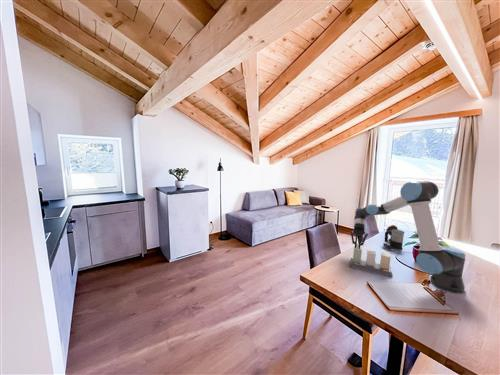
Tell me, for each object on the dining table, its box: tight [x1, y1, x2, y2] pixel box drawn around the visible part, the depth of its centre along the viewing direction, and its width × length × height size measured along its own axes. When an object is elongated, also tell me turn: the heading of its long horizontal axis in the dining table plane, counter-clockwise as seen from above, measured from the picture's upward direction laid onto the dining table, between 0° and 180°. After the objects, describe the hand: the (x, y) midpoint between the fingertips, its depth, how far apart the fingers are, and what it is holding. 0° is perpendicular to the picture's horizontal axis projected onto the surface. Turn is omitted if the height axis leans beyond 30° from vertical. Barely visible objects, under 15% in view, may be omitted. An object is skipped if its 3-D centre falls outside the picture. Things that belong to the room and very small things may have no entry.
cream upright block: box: [365, 249, 377, 266], centre depth 147 cm, size 4×5×9 cm
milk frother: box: [383, 229, 405, 251], centre depth 179 cm, size 14×16×15 cm
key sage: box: [352, 247, 363, 263], centre depth 151 cm, size 4×5×9 cm
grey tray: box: [349, 257, 394, 278], centre depth 146 cm, size 12×25×3 cm, turn 62°
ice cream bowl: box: [385, 224, 399, 241], centre depth 197 cm, size 11×11×15 cm
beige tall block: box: [379, 252, 391, 270], centre depth 143 cm, size 4×5×9 cm
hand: (356, 252), depth 155 cm, fingers closed
